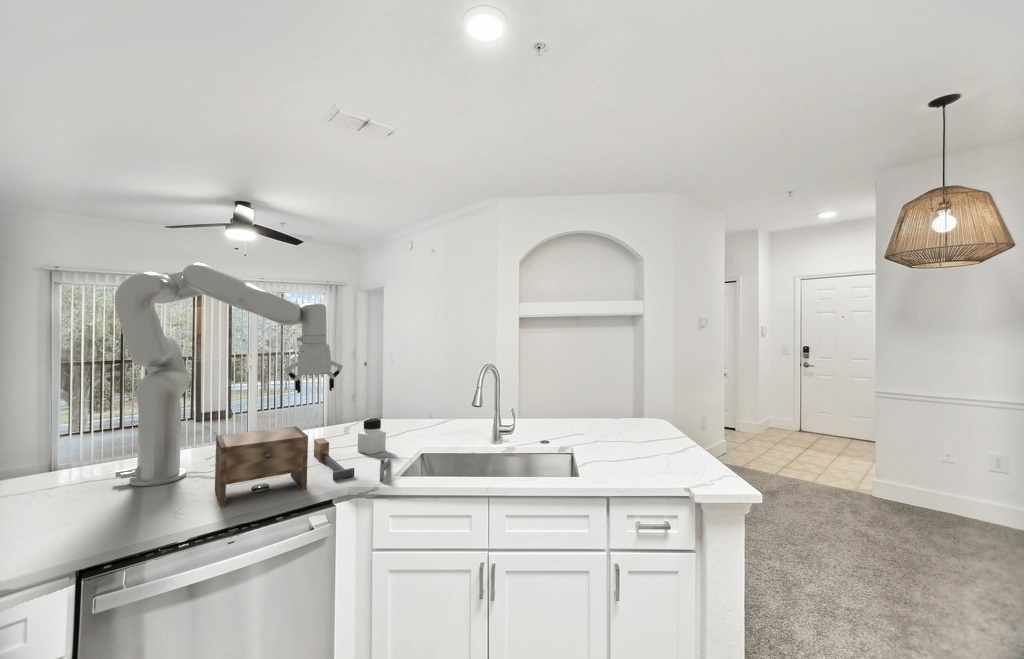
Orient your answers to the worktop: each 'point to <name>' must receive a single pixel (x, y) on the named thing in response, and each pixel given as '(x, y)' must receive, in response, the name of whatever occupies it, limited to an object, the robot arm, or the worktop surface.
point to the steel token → (260, 487)
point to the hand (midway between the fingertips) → (315, 391)
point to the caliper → (383, 467)
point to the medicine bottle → (371, 437)
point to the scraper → (330, 460)
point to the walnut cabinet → (260, 457)
